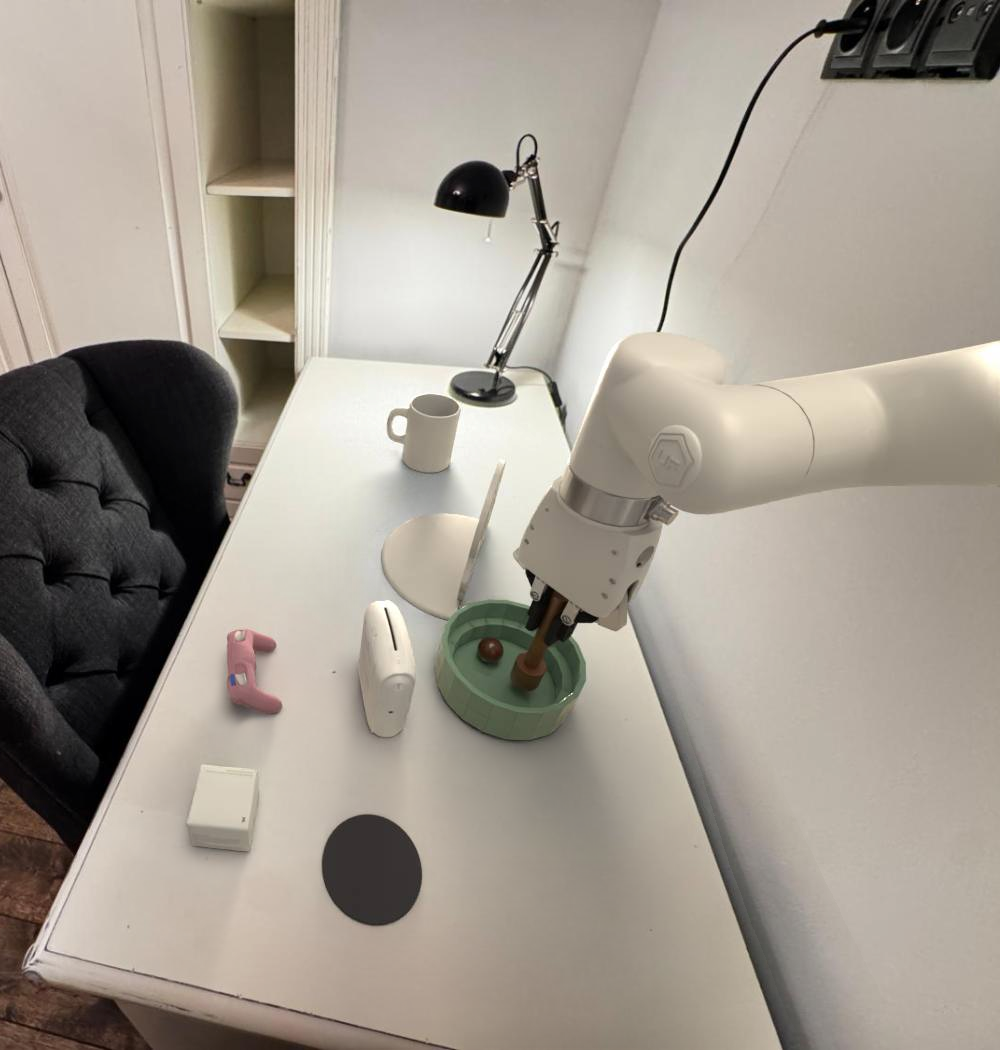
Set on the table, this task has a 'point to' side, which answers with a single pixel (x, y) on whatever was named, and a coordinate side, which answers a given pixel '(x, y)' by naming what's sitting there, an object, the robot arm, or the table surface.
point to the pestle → (536, 649)
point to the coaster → (372, 869)
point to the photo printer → (386, 669)
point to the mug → (427, 431)
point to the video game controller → (248, 670)
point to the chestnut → (490, 650)
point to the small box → (223, 808)
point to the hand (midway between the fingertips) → (546, 630)
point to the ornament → (437, 556)
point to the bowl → (505, 673)
